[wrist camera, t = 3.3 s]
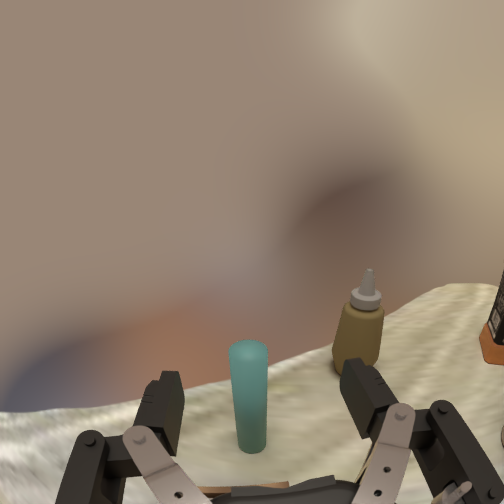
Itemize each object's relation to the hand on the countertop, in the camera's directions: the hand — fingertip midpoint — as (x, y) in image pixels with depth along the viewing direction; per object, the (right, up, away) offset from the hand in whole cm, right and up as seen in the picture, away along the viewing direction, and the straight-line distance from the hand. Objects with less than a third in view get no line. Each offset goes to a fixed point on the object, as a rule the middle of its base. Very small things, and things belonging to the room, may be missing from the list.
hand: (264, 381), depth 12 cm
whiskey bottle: (+51, -15, +23) cm, 58 cm away
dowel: (-1, -18, +16) cm, 24 cm away
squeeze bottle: (+16, -14, +29) cm, 36 cm away
